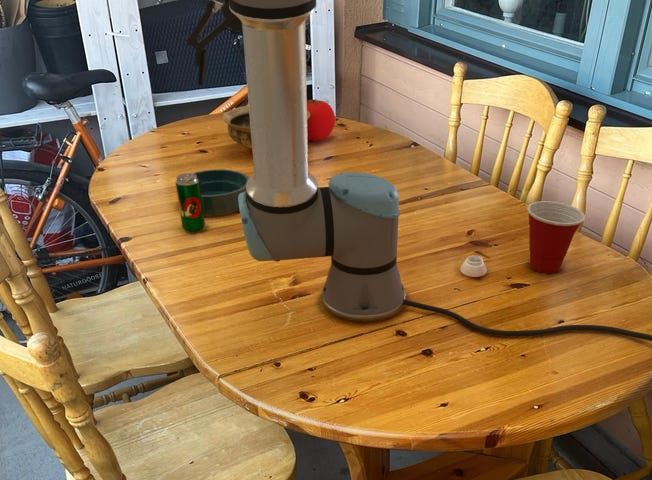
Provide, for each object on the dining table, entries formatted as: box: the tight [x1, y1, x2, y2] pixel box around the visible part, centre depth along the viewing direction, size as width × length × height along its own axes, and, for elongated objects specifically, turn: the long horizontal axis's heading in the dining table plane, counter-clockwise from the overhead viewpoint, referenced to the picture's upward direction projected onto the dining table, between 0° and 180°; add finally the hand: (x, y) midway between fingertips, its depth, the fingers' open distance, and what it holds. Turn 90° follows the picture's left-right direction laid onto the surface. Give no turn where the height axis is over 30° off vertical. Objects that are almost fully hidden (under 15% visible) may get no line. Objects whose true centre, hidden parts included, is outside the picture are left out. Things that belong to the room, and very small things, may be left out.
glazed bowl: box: [192, 168, 250, 216], centre depth 165 cm, size 17×17×5 cm
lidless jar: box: [459, 255, 488, 278], centre depth 136 cm, size 5×3×5 cm
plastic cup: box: [526, 200, 586, 274], centre depth 135 cm, size 11×11×12 cm
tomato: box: [307, 98, 336, 142], centre depth 201 cm, size 12×13×11 cm
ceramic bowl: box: [222, 105, 310, 149], centre depth 194 cm, size 30×24×10 cm
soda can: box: [174, 172, 206, 233], centre depth 152 cm, size 5×5×12 cm
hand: (233, 91), depth 146 cm, fingers open, 13 cm apart
